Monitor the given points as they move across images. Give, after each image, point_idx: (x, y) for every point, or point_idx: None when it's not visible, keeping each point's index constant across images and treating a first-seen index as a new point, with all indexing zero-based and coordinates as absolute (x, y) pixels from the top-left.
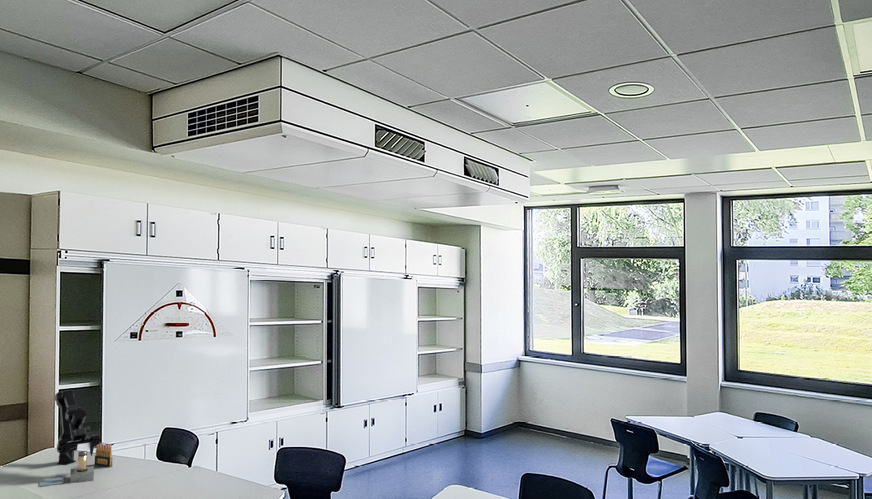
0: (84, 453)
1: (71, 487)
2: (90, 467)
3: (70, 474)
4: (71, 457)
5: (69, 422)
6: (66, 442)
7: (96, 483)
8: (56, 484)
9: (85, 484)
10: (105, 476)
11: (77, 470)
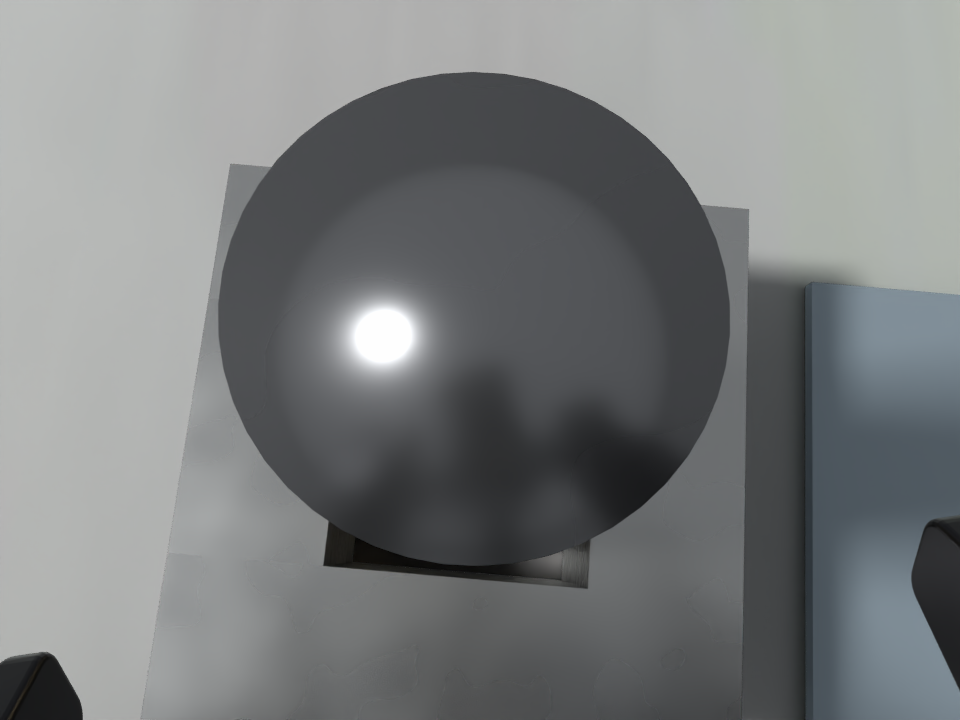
0: (406, 104)
1: (667, 4)
2: (237, 628)
3: (743, 218)
4: (948, 524)
5: None
6: None
7: (257, 11)
8: (926, 297)
9: (437, 50)
10: (21, 370)
11: (569, 588)
